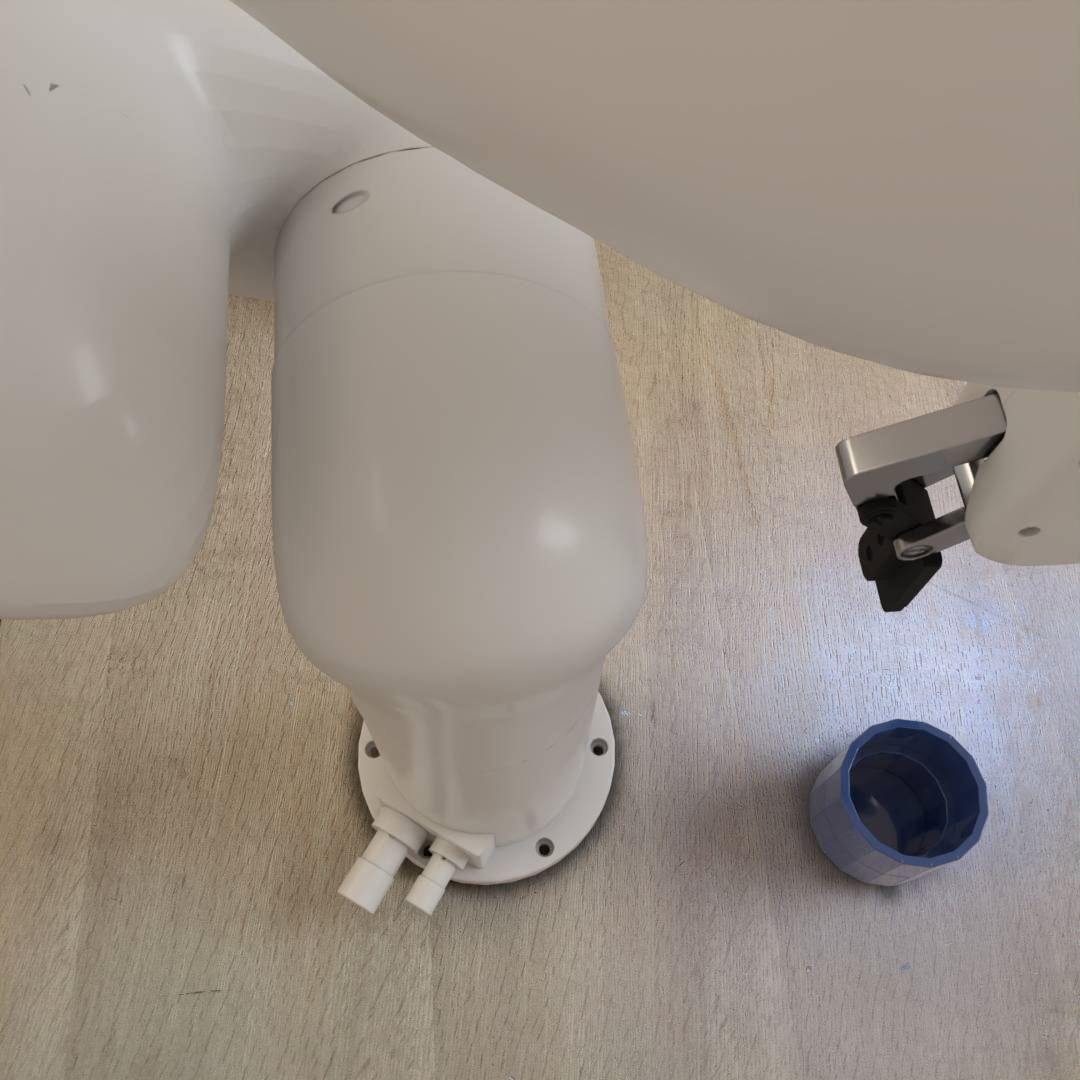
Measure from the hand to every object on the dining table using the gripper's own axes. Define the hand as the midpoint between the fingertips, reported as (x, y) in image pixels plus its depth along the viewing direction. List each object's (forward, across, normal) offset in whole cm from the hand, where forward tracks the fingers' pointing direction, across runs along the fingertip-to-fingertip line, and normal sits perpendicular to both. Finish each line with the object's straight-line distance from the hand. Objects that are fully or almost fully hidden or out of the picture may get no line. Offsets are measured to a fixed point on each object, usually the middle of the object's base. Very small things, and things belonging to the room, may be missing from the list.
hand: (1014, 563), depth 37 cm
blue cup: (+18, -1, -5) cm, 19 cm away
